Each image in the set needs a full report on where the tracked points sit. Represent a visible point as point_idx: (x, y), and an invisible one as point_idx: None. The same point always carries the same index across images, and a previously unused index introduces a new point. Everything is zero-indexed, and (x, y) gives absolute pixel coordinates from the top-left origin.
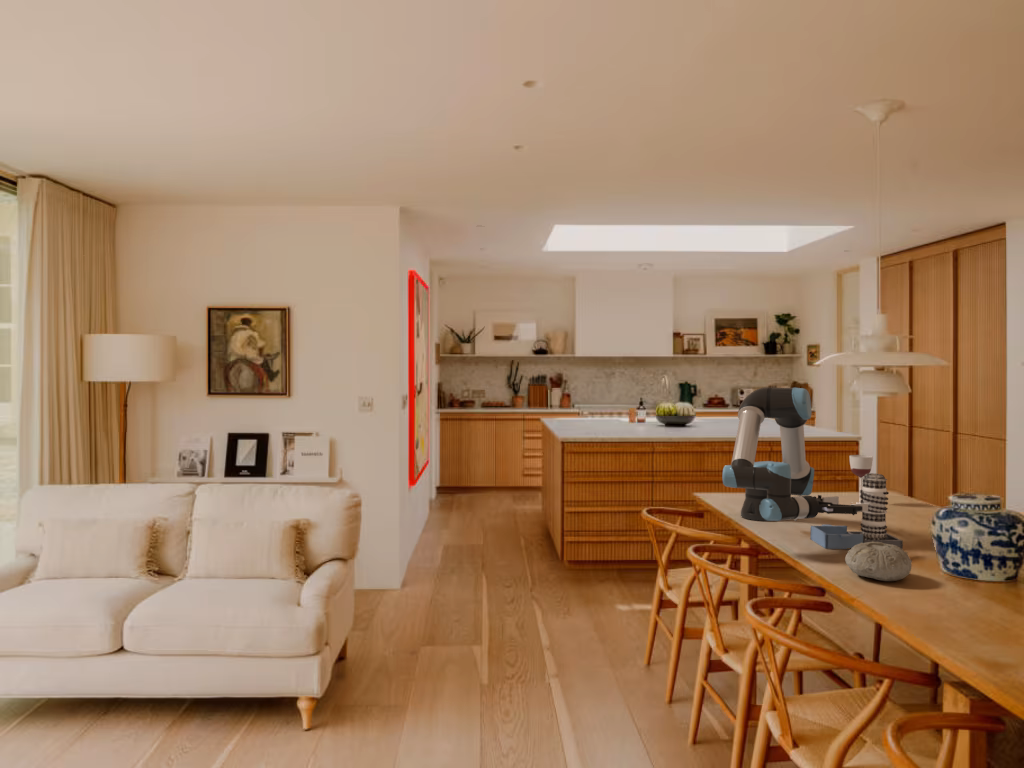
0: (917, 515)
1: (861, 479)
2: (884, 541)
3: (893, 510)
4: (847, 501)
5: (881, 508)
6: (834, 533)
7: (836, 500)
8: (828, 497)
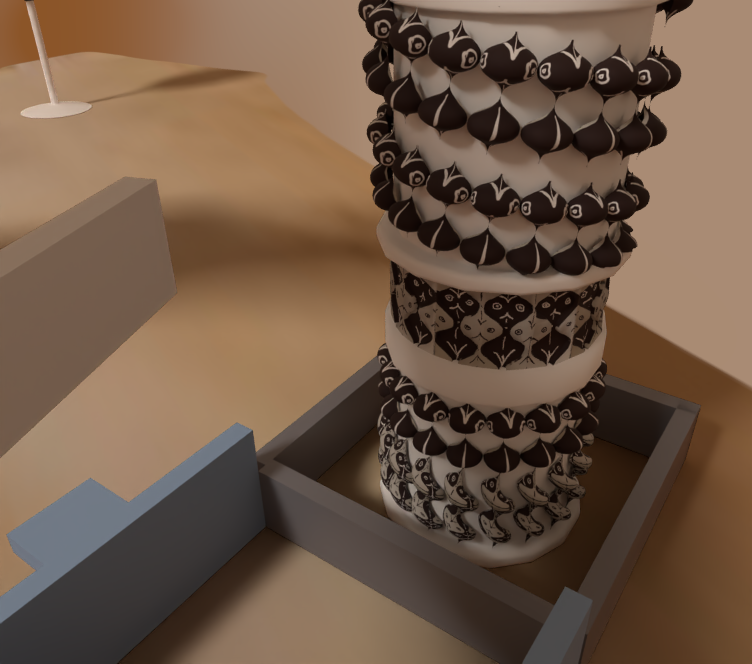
0: (272, 113)
1: (34, 9)
2: (656, 499)
3: (182, 110)
4: (5, 108)
5: (646, 200)
6: (169, 561)
7: (145, 255)
8: (9, 276)
